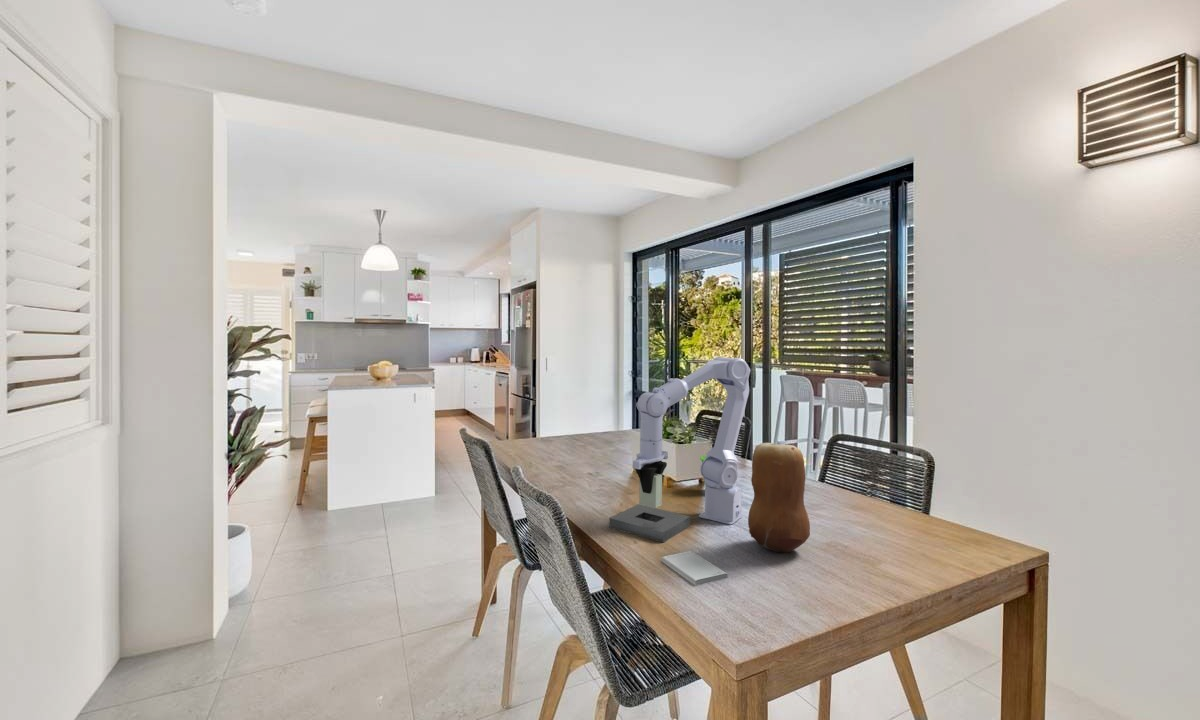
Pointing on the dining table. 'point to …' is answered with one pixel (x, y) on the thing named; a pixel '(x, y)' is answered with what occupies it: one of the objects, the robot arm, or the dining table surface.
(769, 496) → the butternut squash
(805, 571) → the dining table surface
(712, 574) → the hard drive
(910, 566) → the dining table surface
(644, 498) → the keyed block
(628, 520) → the key plate
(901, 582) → the dining table surface
